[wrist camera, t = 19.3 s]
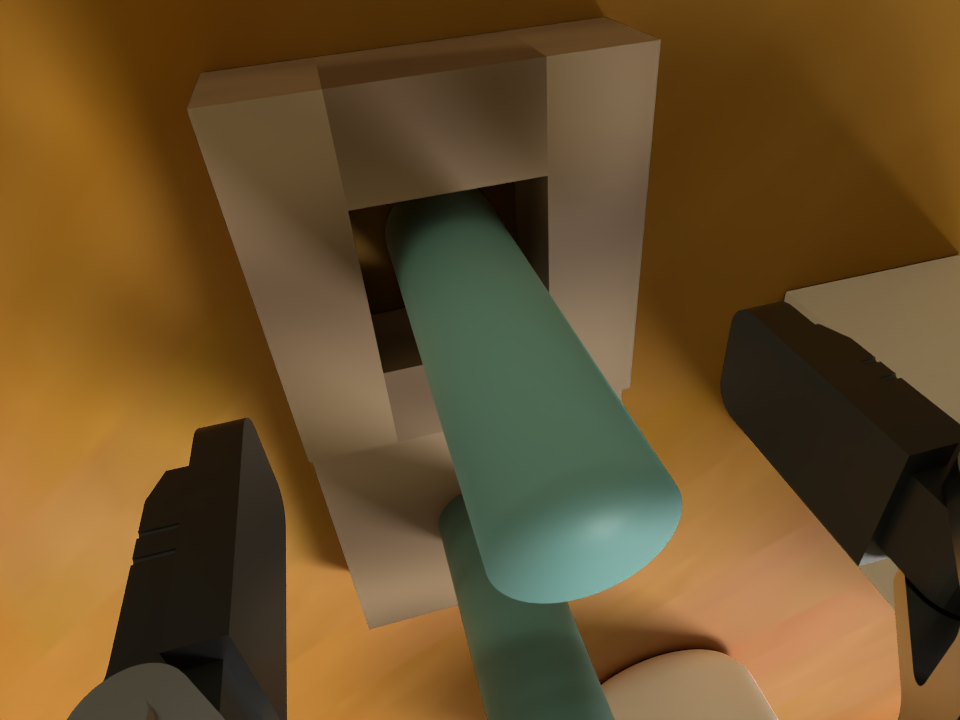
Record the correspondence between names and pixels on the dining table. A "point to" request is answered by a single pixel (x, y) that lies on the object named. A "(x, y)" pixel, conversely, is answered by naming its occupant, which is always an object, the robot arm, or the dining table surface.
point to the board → (393, 524)
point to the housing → (898, 338)
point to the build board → (422, 173)
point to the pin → (525, 411)
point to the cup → (687, 689)
